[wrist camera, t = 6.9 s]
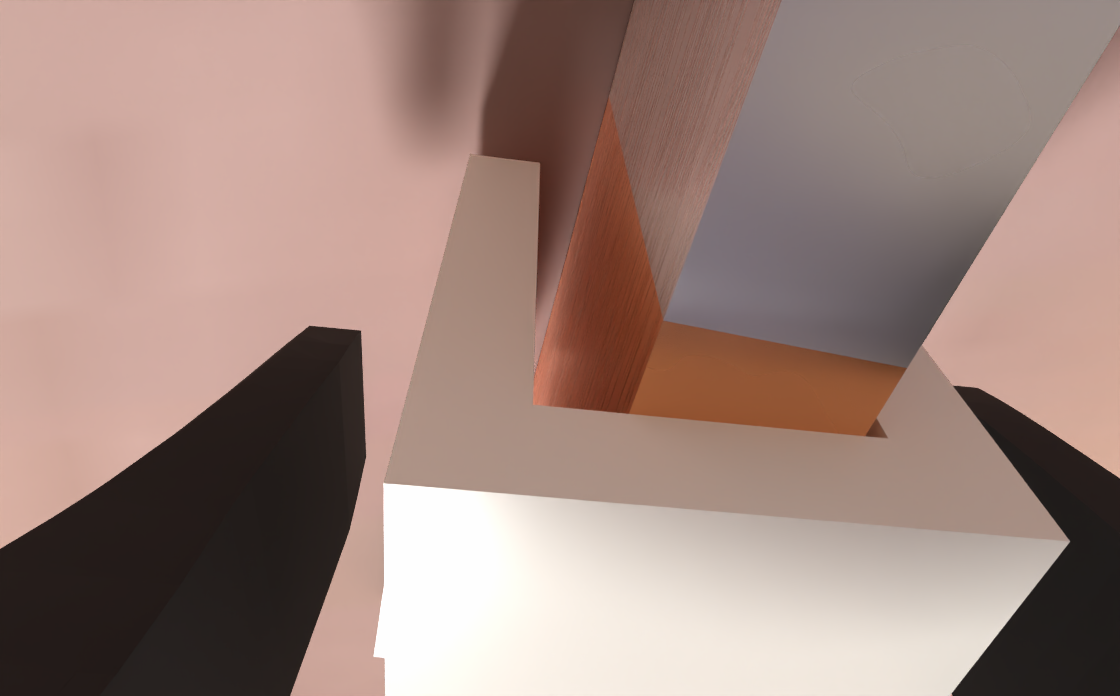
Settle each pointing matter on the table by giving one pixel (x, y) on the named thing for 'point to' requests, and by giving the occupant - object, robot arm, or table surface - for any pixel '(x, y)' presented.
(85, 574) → the robot arm
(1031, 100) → the grey and orange bar
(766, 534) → the clip
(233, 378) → the table surface
